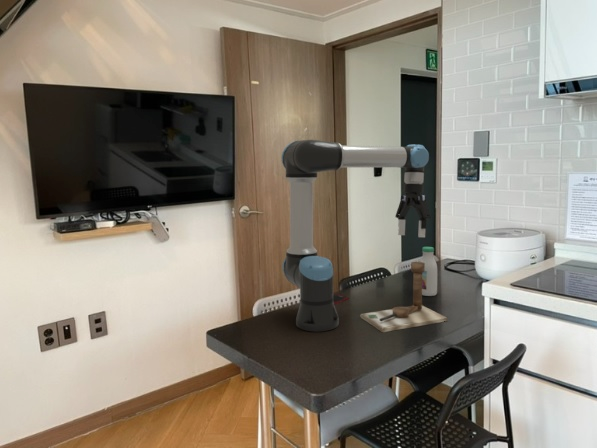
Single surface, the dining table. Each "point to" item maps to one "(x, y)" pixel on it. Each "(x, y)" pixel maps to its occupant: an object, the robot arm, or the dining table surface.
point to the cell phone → (338, 298)
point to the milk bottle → (429, 272)
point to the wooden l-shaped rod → (417, 292)
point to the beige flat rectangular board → (402, 319)
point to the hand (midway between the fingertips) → (411, 236)
